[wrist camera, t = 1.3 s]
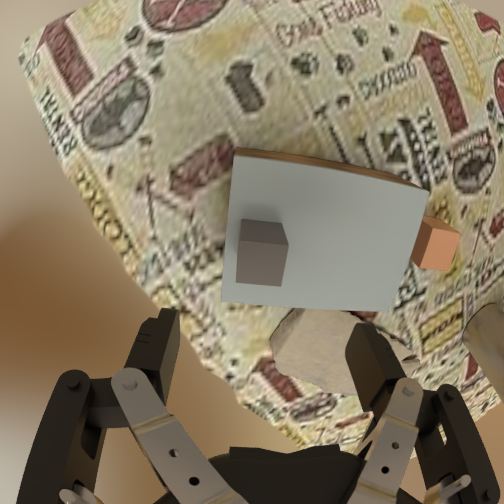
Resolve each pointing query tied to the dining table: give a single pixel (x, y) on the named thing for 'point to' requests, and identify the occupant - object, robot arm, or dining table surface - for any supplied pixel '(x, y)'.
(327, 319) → the stone tool
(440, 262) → the cube
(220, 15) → the dining table surface
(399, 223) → the lid
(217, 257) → the dining table surface
